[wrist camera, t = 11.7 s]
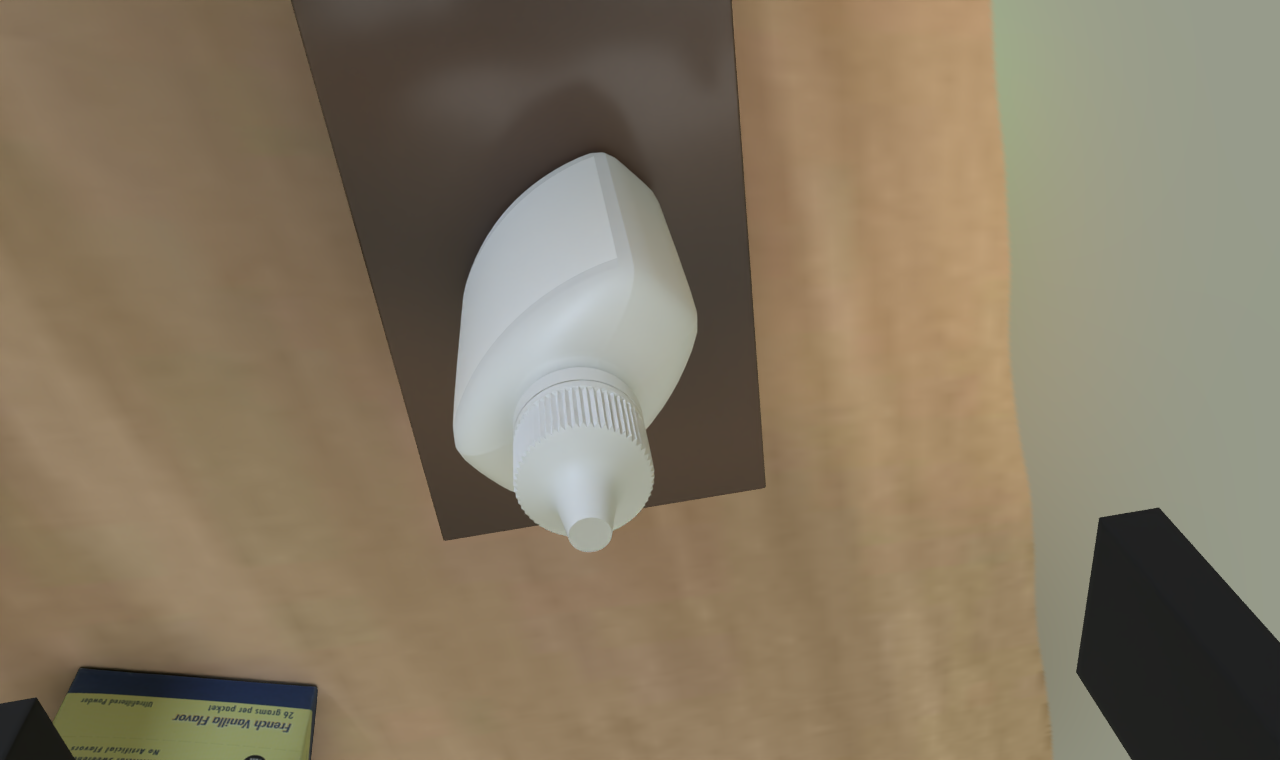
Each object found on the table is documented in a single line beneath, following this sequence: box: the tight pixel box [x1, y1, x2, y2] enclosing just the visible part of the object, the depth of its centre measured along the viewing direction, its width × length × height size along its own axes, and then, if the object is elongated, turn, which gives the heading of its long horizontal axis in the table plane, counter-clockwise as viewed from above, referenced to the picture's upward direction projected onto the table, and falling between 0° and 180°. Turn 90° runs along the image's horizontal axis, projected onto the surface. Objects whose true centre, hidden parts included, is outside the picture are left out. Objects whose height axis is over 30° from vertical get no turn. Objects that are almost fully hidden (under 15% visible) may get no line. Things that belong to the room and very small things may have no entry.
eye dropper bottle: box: [453, 152, 697, 552], centre depth 21 cm, size 4×6×12 cm
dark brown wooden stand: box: [291, 0, 766, 541], centre depth 31 cm, size 18×10×10 cm, turn 7°
